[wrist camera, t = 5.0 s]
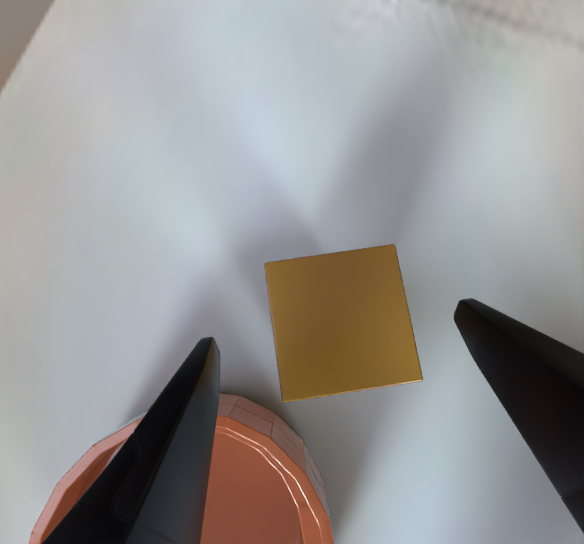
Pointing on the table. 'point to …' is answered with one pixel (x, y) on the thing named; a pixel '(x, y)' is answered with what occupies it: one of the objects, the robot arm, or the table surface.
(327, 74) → the table surface
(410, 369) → the ochre block
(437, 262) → the table surface
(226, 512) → the bowl
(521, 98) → the table surface
